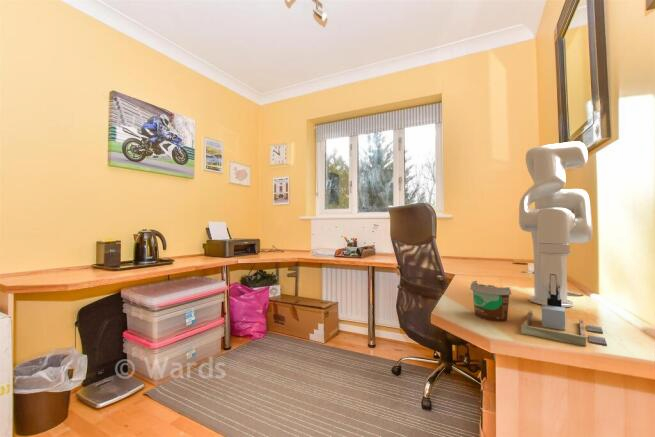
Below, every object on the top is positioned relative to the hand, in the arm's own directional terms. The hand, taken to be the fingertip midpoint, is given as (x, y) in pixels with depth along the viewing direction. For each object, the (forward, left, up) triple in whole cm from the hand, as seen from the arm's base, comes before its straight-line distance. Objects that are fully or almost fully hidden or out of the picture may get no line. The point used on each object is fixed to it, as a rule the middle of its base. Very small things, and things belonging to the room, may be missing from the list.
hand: (554, 312), depth 84 cm
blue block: (+4, 0, -3) cm, 5 cm away
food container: (+8, -16, -3) cm, 19 cm away
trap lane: (+7, +2, -3) cm, 8 cm away
